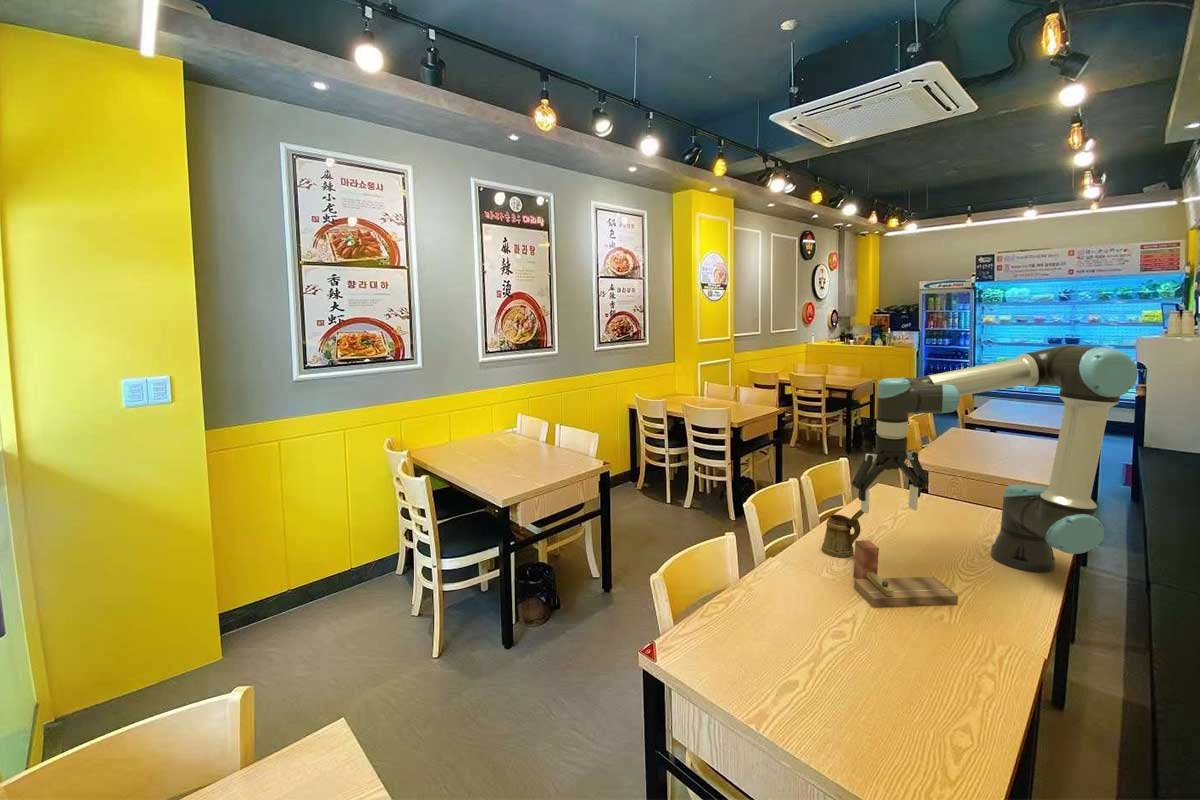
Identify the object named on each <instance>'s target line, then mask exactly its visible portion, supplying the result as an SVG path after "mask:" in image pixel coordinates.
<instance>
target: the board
mask: <svg viewBox="0 0 1200 800" xmlns="http://www.w3.org/2000/svg"><path fill="white" fill-rule="evenodd" d="M879 578H880V577H879ZM880 579H882V580H883V581H887V582H888V586H889V587H890V588H891V589H893V590H894V595H893V596H886V595H885V594H884V593H883V592H882V591H881V590H880V589H879V588H878V587H877V586H876V585H875V584H873V583H872V582H871V581H870V580H869V579H855V578H854V582H853V589H854V590H856V592H857V593H859V594H860V596H861V597H862V598H863V599H864V600H865V601H866V602H867V603H868V604H869V605H870V606H871V608H894V607H895V608H898V607H899V608H900V607H925V606H926V607H929V606H955V605H956V606H957V605H959V595H958V594H957V593H956V592H955V591H953V590H951V589H950V588H949V587H948V586H947V585H945V584H944V583H942V581H940V580H939V579H938V578H936V577H935V576H918V577H917V576H916V577H915V576H914V577H911V576H910V577H887V578H886V577H884V578H880Z"/></svg>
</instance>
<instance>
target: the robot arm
mask: <svg viewBox="0 0 1200 800" xmlns="http://www.w3.org/2000/svg"><path fill="white" fill-rule="evenodd" d="M1138 372H1139V371H1138V367H1137V364H1136V362H1135V361H1134V359H1133V358H1131V356H1129V354H1127V353H1126V352H1123V351H1122V350H1118V349H1113V348H1110V347H1103V346H1101V347H1100V346H1099V347H1095V346H1083V345H1074V344H1073V345H1071V344H1070V345H1060V346H1054V347H1051V348H1050V347H1049V348H1044V349H1040V350H1035V351H1031V352H1026V353H1021V354H1019V355H1017V357H1016V358H1012V359H1007V360H1003V361H998V362H993V363H986V364H982V365H981V364H980V365H977V366H971V367H967V368H966V367H965V368H961V369H955V370H950V371H944V372H940V373H935V374H929V375H925V376H918V377H905V376H904V377H898V378H896V377H894V378H893V377H887V378H883V379H880V380H879V381H878V386H877V391H876V393H877V394H876V431H875V433H876V434H877V435H876V436H875V450H876V452H875V453H873V454H872V453H871V454H870V453H868V452H865V453H864V455H863V460H862V462H861V464H860V466H859V468H858V471H857V472H856V474H855V476H854V478H853V480H852V481H851V486H852V487H854V488H856V489H858V500H860V509H861V510H862V511H863V512H865V513H864V514H869V511H870V490H868V488H869V487H870V486H871V484H872V483H873V482H874V481H875V480H876V478H878V477H879V475H880V474H881V473H883V472H884V471H885V470H886V471H891V470H900V471H901V472H902V473H903V474H904V475H905V477H906V478H908V480H909V481H910V482H911V483H912V484H909V486H908V487H909V488H908V489H909V491H908V508H910V509H911V510H913V511H918V499H919V498H921V495H922V494H921V491H922V490H921V489H923V488H924V486H925V485H929V479H928V478H927V475H926V473H925V471H924V469H923V467H922V464H921V463H920V460H919V453H918V452H916V451H914V450H909V451H908V452H907V450H908V437H907V436H908V434H909V433H908V432H909V416H910V415H909V414H911V415H913V414H940V415H941V414H944V413H945V414H947V413H953V412H956V410H957V409H958V408H959V405H960V403H961V402H960V401H961V397H962V396H967V395H973V394H978V393H985V392H990V391H996V390H1003V389H1007V388H1012V387H1018V386H1024V387H1026V388H1032V387H1040V386H1041V387H1042V386H1043V387H1044V386H1047V387H1056V388H1057V387H1058V388H1060V390H1059V393H1058V395H1059V396H1058V397H1059V399H1060V400H1061V401H1062V402H1063V403H1064V409H1063V413H1062V419H1061V424H1060V429H1059V434H1058V439H1057V443H1056V448H1055V449H1056V450H1055V453H1054V458H1053V459H1054V460H1053V465H1052V471H1051V475H1050V481H1049V484H1048V485H1049V486H1048V487H1046V486H1042V485H1037V484H1036V485H1034V484H1033V485H1032V484H1010V485H1008V486H1006V487H1005V488H1004V492H1003V496H1002V498H1003V501H1002V512H1001V518H1000V519H1001V522H1000V530H999V533H998V535H997V537H996V538H995V541H994V543H993V544H992V545H991V546H990V547H991V549H990V556H991V557H992V558H993V559H994V560H995V561H996V562H998V563H1000V564H1002V565H1005V566H1008V567H1011V568H1013V569H1017V570H1023V571H1028V572H1034V573H1037V572H1038V573H1045V572H1050V571H1053V570H1054V569H1055V567H1056V557H1055V555H1054V551H1053V549H1056V550H1059V551H1061V552H1062V553H1066V554H1070V555H1078V554H1079V555H1080V554H1084V553H1087V552H1089V551H1090V550H1091V549H1095V548H1096V547H1097V546H1098V545H1099V544H1100V543H1101V541H1103V537H1104V533H1105V529H1104V525H1103V524H1102V523H1101V521H1100V520H1099V519H1098V518H1097V517H1096V512H1097V506H1098V505H1097V504H1096V502H1094V500H1093V499H1092V493H1093V487H1094V483H1095V480H1096V479H1095V477H1096V474H1097V469H1098V465H1099V459H1100V454H1101V449H1102V444H1103V441H1104V435H1105V430H1106V425H1107V420H1108V417H1109V410H1111V408H1112V407H1115V406H1117V405H1118V404H1119V402H1120V399H1121V396H1123V395H1126V394H1127V393H1128V392H1129V390H1131V389H1133V388H1134V386H1135V385H1136V383H1137V381H1138V374H1139V373H1138ZM875 460H876V461H875ZM906 460H908V461H909V462H910V465H911V467H912V469H913V471H914V473H915V474H914V473H913V472H912V470H911V469H910V468H909V466H908V465H907V464H906V463H905V461H906ZM873 463H874V464H873ZM872 464H873V466H872ZM871 467H872V468H871Z"/></svg>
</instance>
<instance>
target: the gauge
mask: <svg viewBox="0 0 1200 800" xmlns="http://www.w3.org/2000/svg"><path fill="white" fill-rule="evenodd" d="M879 552H880V548H879V546H877V545H876V544H875V543H874V542H872V541H871V540H870V539H865V540H864V539H863V540H862V539H861V540H855V541H854V558H853V575H852V577H853V578H854V579H869V580H870V581H871V582H872V583H873V584H875V585H876V586H877V587H878V588H879V589H880V590H881V591H882V592H883V593H884V594H885V595H886V596H893V595H894V590H893V589H891V588H890V587H889V586H888V582H887V581H883V580H882V579H880V577H879V576H878V569H879V568H878V566H879V554H880V553H879Z"/></svg>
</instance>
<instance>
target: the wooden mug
mask: <svg viewBox="0 0 1200 800" xmlns="http://www.w3.org/2000/svg"><path fill="white" fill-rule="evenodd" d="M864 514H866V513H865V512H863V511H862V510H861V508H860V509H859V510H858V511H857V512H856V513H855V514H853V516H851V517H848V516H846V515H843V514H837V513H836V514H830V515H829V516H828V519H827V521H826V530H825V535H824V539H823V543H822V545H821V551H822V552H823V553H824V554H826V555H828V556H831V557H836V558H848V557H850V556H852V555H854V546H853V543H855V541H857V539H858V538H859V536H860V534H861V524H860V521H859V519H860V517H862V516H863V515H864ZM852 528H853V533H851V530H852Z"/></svg>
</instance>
